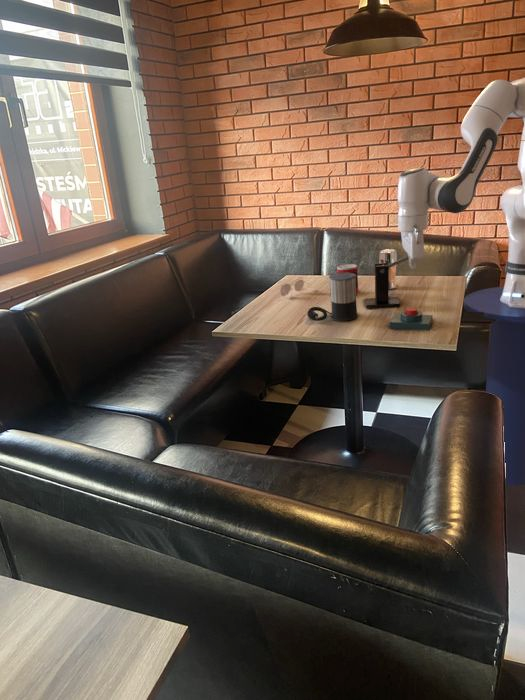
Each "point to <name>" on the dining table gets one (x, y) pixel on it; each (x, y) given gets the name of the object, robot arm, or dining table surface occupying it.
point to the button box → (411, 321)
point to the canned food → (349, 271)
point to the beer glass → (388, 257)
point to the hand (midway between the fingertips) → (412, 268)
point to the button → (411, 311)
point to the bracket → (381, 289)
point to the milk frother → (339, 299)
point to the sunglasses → (286, 288)
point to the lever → (398, 261)
